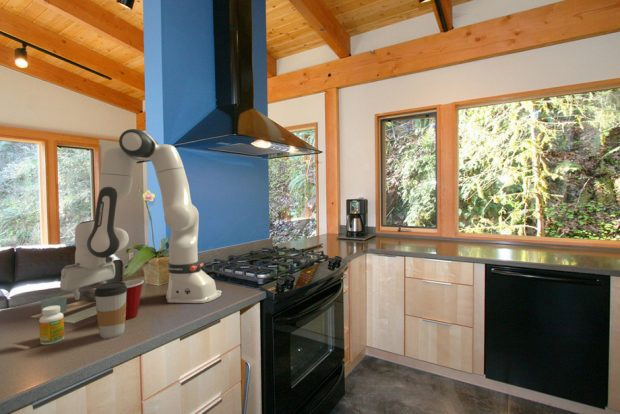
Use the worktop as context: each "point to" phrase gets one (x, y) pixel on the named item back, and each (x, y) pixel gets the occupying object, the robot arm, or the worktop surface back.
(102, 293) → the coffee cup
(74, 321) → the grey block
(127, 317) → the plastic cup
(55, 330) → the supplement bottle
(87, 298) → the oak strip
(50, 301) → the teal block
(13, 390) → the worktop surface
